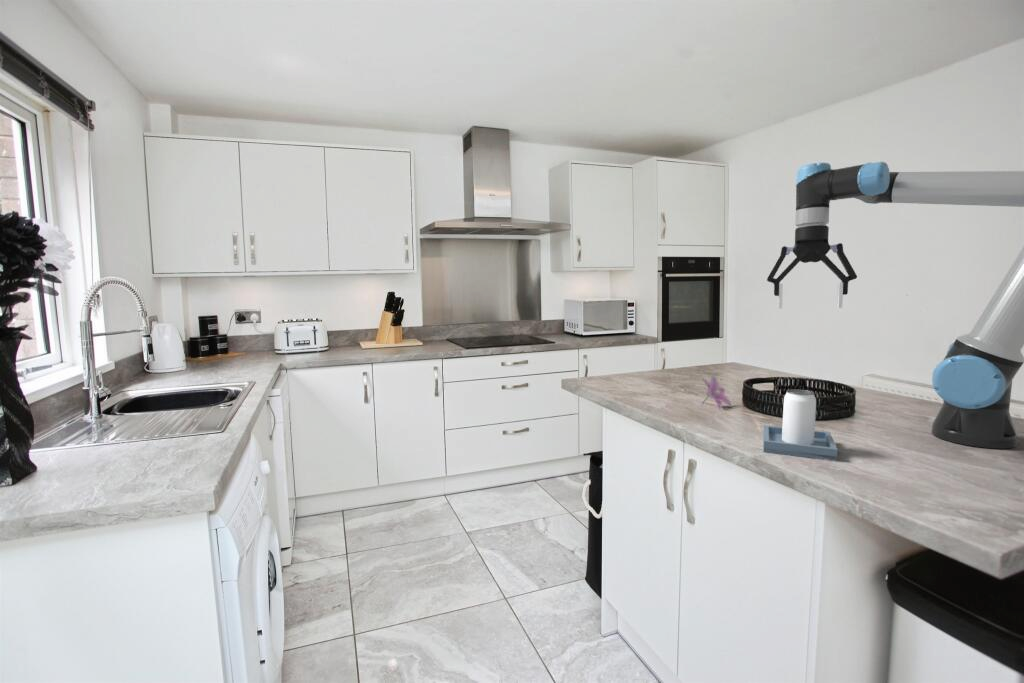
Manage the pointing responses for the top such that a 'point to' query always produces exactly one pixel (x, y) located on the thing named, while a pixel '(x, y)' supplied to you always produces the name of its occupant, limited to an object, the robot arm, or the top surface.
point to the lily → (716, 392)
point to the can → (799, 417)
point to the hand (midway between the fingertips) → (809, 308)
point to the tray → (800, 445)
